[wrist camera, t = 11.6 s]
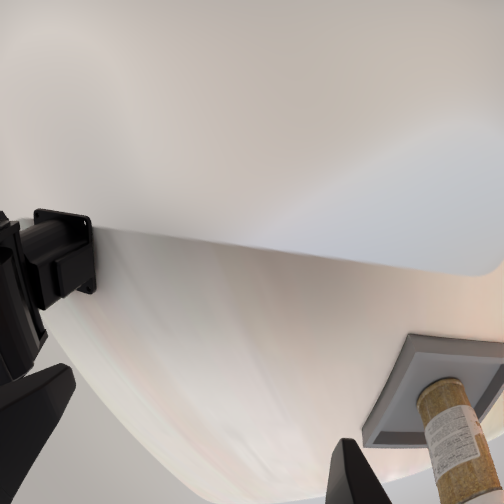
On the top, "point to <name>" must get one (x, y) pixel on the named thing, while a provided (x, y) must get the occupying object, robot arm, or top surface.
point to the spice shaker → (457, 446)
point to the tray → (425, 374)
